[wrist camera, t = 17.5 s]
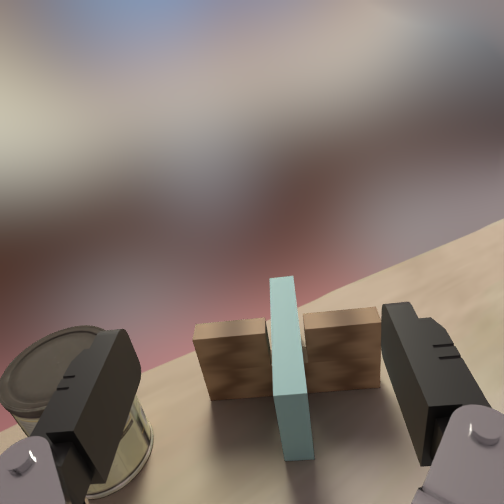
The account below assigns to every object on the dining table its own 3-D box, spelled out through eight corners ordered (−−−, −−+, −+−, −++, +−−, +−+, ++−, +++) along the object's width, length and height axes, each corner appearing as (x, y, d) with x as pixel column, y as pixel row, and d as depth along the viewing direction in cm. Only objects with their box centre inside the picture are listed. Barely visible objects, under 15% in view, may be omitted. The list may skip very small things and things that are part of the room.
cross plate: (284, 461, 39) (273, 395, 34) (278, 336, 55) (269, 278, 50) (314, 459, 39) (307, 393, 34) (299, 334, 55) (293, 275, 50)
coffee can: (40, 471, 42) (-26, 384, 35) (113, 399, 50) (71, 314, 42) (100, 522, 37) (37, 430, 30) (172, 433, 44) (135, 342, 37)
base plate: (210, 400, 47) (192, 339, 42) (213, 383, 49) (195, 324, 44) (379, 387, 45) (381, 322, 40) (374, 370, 47) (375, 306, 42)
